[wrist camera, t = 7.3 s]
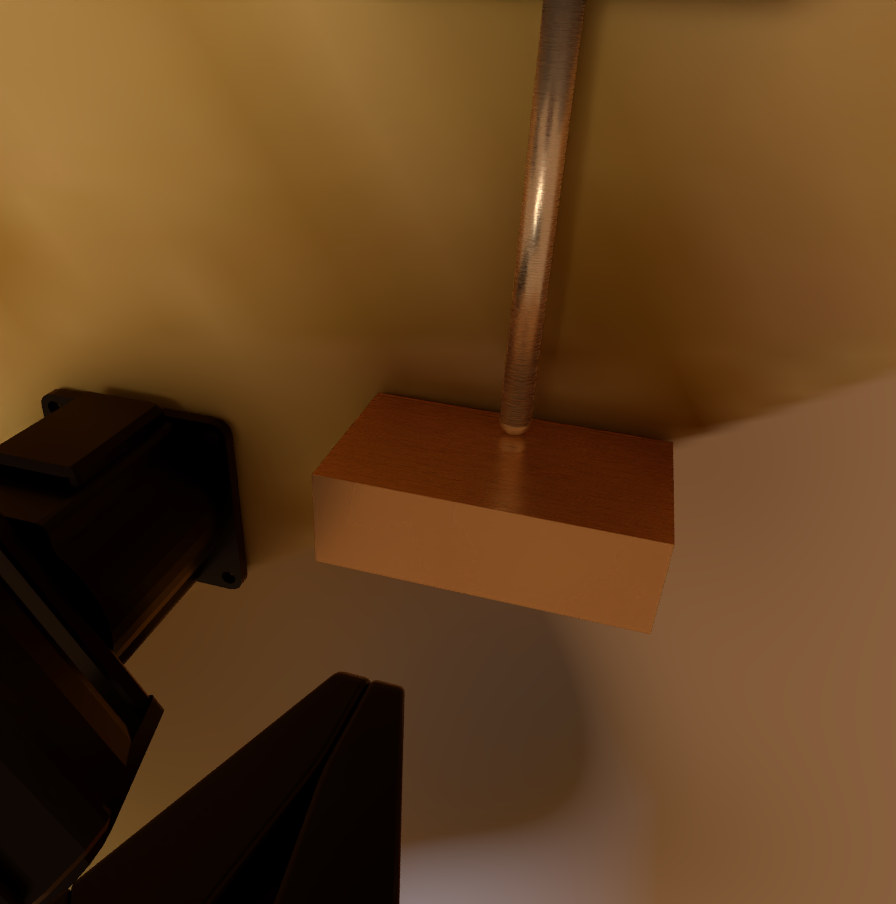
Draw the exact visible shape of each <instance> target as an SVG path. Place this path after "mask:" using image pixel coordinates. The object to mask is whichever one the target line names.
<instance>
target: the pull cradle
mask: <svg viewBox="0 0 896 904" xmlns="http://www.w3.org/2000/svg"><path fill="white" fill-rule="evenodd" d="M585 1H586V0H543V9H542V18H541V28H540V37H539V47H538V57H537V66H536V76H535V85H534V95H533V104H532V114H531V123H530V133H529V143H528V152H527V162H526V171H525V181H524V190H523V200H522V209H521V219H520V229H519V238H518V248H517V257H516V267H515V276H514V286H513V296H512V305H511V315H510V324H509V334H508V343H507V353H506V362H505V372H504V382H503V391H502V401H501V410H500V413H496V412H490V411H484V410H478V409H472V408H466V407H460V406H454V405H448V404H443V403H437V402H431V401H425V400H419V399H413V398H407V397H401V396H395V395H389V394H383V393H378V394H377V395H376V396H375V397H374V398H373V400H372V401H371V402H370V403H369V405H368V406H367V407H366V408H365V410H364V411H363V412H362V413H361V414H360V416H359V417H358V418H357V419H356V421H355V422H354V423H353V424H352V426H351V427H350V428H349V429H348V430H347V432H346V433H345V434H344V435H343V437H342V438H341V439H340V440H339V442H338V443H337V444H336V445H335V446H334V448H333V449H332V450H331V451H330V453H329V454H328V455H327V456H326V458H325V459H324V460H323V461H322V462H321V464H320V465H319V466H318V467H317V469H316V470H315V471H314V472H313V474H312V487H313V509H314V531H315V553H316V561H319V562H323V563H328V564H333V565H337V566H341V567H346V568H350V569H355V570H360V571H364V572H369V573H373V574H378V575H382V576H387V577H391V578H397V579H401V580H406V581H410V582H415V583H419V584H423V585H428V586H433V587H437V588H442V589H446V590H451V591H455V592H460V593H465V594H469V595H474V596H478V597H483V598H488V599H492V600H497V601H501V602H506V603H510V604H515V605H520V606H524V607H528V608H533V609H538V610H542V611H547V612H551V613H556V614H560V615H565V616H570V617H575V618H579V619H583V620H588V621H592V622H597V623H602V624H606V625H611V626H615V627H620V628H625V629H629V630H633V631H638V632H643V633H647V634H651V630H652V627H653V622H654V619H655V615H656V611H657V608H658V604H659V601H660V596H661V593H662V589H663V586H664V582H665V578H666V574H667V571H668V567H669V563H670V560H671V556H672V552H673V548H674V481H673V442H668V441H662V440H656V439H650V438H644V437H638V436H632V435H626V434H620V433H614V432H608V431H602V430H597V429H591V428H585V427H579V426H573V425H567V424H561V423H555V422H549V421H543V420H537V419H531V418H532V410H533V402H534V394H535V387H536V379H537V371H538V364H539V356H540V348H541V340H542V333H543V325H544V317H545V310H546V302H547V294H548V286H549V279H550V271H551V263H552V256H553V248H554V240H555V232H556V225H557V217H558V209H559V202H560V194H561V186H562V178H563V171H564V163H565V155H566V148H567V140H568V132H569V124H570V117H571V109H572V101H573V94H574V86H575V78H576V70H577V63H578V55H579V47H580V40H581V32H582V24H583V16H584V9H585Z"/></svg>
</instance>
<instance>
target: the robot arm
mask: <svg viewBox="0 0 896 904" xmlns="http://www.w3.org/2000/svg"><path fill="white" fill-rule="evenodd" d="M41 404H42V409H43V413H44V417H45V418H43V419H41V420H40V421H38V422H36V423H35V424H33V425H31V426H30V427H28V428H27V429H25V430H23V431H22V432H20V433H18V434H17V435H15V436H13V437H12V438H10V439H8V440H7V441H5V442H4V443H2V444H0V904H399V897H400V895H399V894H400V857H401V817H402V816H401V814H402V777H403V737H404V697H405V692H404V689H403V688H402V687H401V686H398V685H395V684H391V683H387V682H382V681H379V680H375V681H372V682H370V680H369V679H368V678H366V677H363V676H359V675H355V674H351V673H347V672H338V673H335V674H333V675H332V676H331V677H329V678H328V679H327V680H326V681H325V682H323V683H322V684H321V685H320V686H318V687H317V688H316V689H315V690H313V691H312V692H311V693H309V694H308V695H307V696H306V697H305V698H304V699H302V700H301V701H300V702H298V703H297V704H296V705H295V706H293V707H292V708H291V709H290V710H288V711H287V712H286V713H285V714H284V715H282V716H281V717H280V718H278V719H277V720H276V721H275V722H273V723H272V724H271V725H270V726H268V727H267V728H266V729H265V730H263V731H262V732H261V733H260V734H259V735H257V736H256V737H255V738H253V739H252V740H251V741H250V742H249V743H247V744H246V745H245V746H244V747H242V748H241V749H240V750H238V751H237V752H236V753H235V754H234V755H232V756H231V757H230V758H229V759H227V760H226V761H225V762H224V763H222V764H221V765H220V766H219V767H217V768H216V769H215V770H213V771H212V772H211V773H210V774H208V775H207V776H206V777H205V778H203V779H202V780H201V781H200V782H198V783H197V784H196V785H195V786H194V787H192V788H191V789H190V790H189V791H187V792H186V793H185V794H184V795H182V796H181V797H180V798H179V799H177V800H176V801H175V802H174V803H172V804H171V805H170V806H169V807H167V808H166V809H165V810H164V811H162V812H161V813H160V814H159V815H157V816H156V817H155V818H154V819H152V820H151V821H150V822H149V823H147V824H146V825H145V826H144V827H142V828H141V829H140V830H139V831H137V832H136V833H135V834H134V835H132V836H131V837H130V838H129V839H127V840H126V841H125V842H124V843H122V844H121V845H120V846H119V847H118V848H116V849H115V850H114V851H113V852H111V853H110V854H109V855H107V856H106V857H105V858H104V859H103V860H101V861H100V862H99V863H97V864H96V865H95V866H94V867H92V868H91V869H90V870H89V871H87V872H86V873H85V874H84V875H83V876H81V877H80V878H79V876H80V875H81V874H82V873H83V872H84V871H85V869H86V868H87V867H88V866H89V865H90V863H91V862H92V861H93V859H94V858H95V856H96V855H97V854H98V852H99V851H100V849H101V848H102V846H103V845H104V843H105V841H106V839H107V837H108V835H109V834H110V831H111V830H112V827H113V825H114V823H115V821H116V819H117V816H118V814H119V812H120V810H121V807H122V805H123V803H124V800H125V798H126V796H127V794H128V792H129V789H130V787H131V784H132V782H133V780H134V778H135V775H136V773H137V771H138V769H139V767H140V764H141V762H142V760H143V757H144V755H145V753H146V751H147V748H148V746H149V744H150V742H151V739H152V737H153V735H154V733H155V730H156V728H157V726H158V723H159V721H160V719H161V717H162V714H163V712H164V709H163V708H162V706H161V705H160V704H159V703H158V701H157V700H156V699H155V698H154V696H153V695H147V693H146V692H145V691H144V690H143V688H142V687H141V686H140V685H139V683H138V682H137V681H136V680H135V678H134V677H133V676H132V675H131V673H130V672H129V671H128V670H127V669H126V667H125V666H124V664H125V663H126V662H127V660H128V659H129V658H130V657H131V656H132V655H133V653H134V652H135V651H136V650H137V649H138V648H139V646H140V645H141V644H142V643H143V642H144V641H145V640H146V638H147V637H148V636H149V635H150V634H151V633H152V631H153V630H154V629H155V628H156V627H157V626H158V625H159V623H160V622H161V621H162V620H163V619H164V618H165V616H166V615H167V614H168V613H169V612H170V611H171V610H172V608H173V607H174V606H175V605H176V604H177V603H178V601H179V600H180V599H181V598H182V597H183V596H184V595H185V593H186V592H187V591H188V590H189V589H190V588H191V586H192V585H193V584H194V583H195V582H196V581H198V582H202V583H207V584H211V585H215V586H220V587H224V588H228V589H237V588H239V587H240V585H241V584H242V583H243V582H244V580H245V579H246V578H247V566H246V556H245V547H244V538H243V528H242V519H241V510H240V500H239V491H238V482H237V472H236V463H235V454H234V444H233V435H232V432H231V429H230V427H229V426H228V425H227V424H226V423H225V422H224V421H223V420H221V419H218V418H214V417H209V416H203V415H198V414H192V413H187V412H182V411H176V410H171V409H165V408H162V407H160V406H158V405H156V404H154V403H148V402H143V401H137V400H132V399H127V398H121V397H116V396H110V395H105V394H99V393H94V392H86V393H78V392H73V391H67V390H62V389H55V390H54V391H52V392H50V393H48V394H47V395H45V396H43V398H42V400H41ZM58 404H59V405H60V406H61V407H60V406H59V405H58ZM210 431H212V432H214V433H215V434H216V435H217V436H218V439H216V438H214V436H213V435H212V434H211V432H210ZM230 573H231V574H232V575H231V574H230ZM78 878H79V879H78ZM77 879H78V880H77ZM72 884H73V885H72ZM71 885H72V888H71V891H70V890H69V889H68V888H69V887H70V886H71Z"/></svg>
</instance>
